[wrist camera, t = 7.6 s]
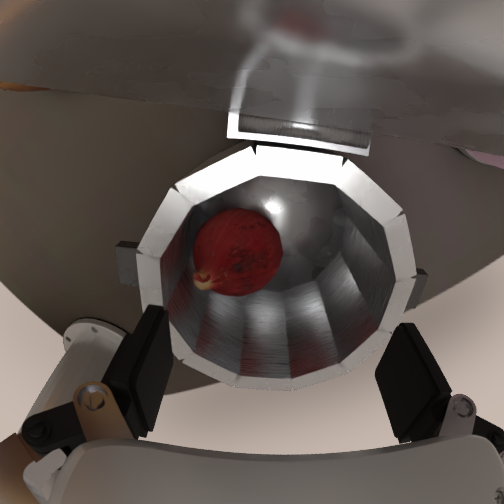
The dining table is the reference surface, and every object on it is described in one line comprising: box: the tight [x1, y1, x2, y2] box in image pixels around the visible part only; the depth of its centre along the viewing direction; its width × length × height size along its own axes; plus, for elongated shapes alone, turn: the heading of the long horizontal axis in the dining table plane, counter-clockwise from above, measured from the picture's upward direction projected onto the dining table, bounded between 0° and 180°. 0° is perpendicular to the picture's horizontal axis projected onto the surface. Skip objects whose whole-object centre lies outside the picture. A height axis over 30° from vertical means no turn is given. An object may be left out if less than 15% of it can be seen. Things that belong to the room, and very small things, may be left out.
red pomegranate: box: [192, 207, 283, 297], centre depth 19 cm, size 6×6×8 cm
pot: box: [115, 112, 428, 391], centre depth 19 cm, size 16×18×11 cm
